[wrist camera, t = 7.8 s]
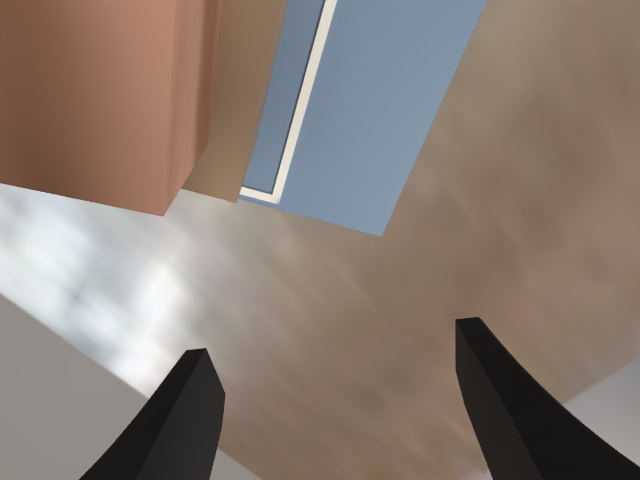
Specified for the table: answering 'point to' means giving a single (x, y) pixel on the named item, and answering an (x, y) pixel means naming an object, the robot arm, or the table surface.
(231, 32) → the walnut slab
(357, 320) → the table surface
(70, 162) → the terracotta cube
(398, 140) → the board
